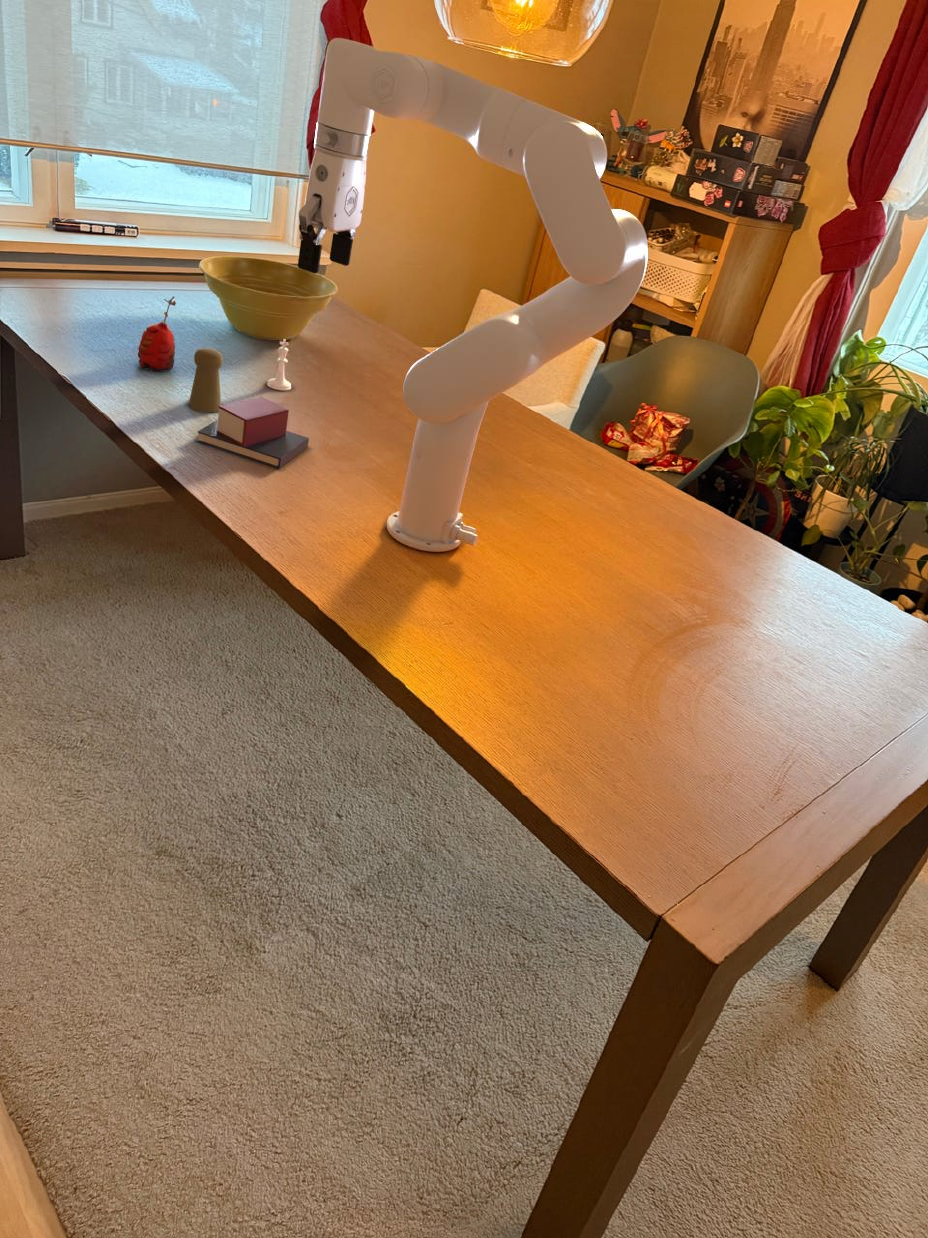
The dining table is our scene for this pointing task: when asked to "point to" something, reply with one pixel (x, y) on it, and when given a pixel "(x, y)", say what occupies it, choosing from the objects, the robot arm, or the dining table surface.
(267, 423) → the pocket dictionary
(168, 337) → the red clay folk toy
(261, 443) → the slate hardcover
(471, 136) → the robot arm
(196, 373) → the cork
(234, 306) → the planter bowl
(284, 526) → the dining table surface
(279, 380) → the chess piece
